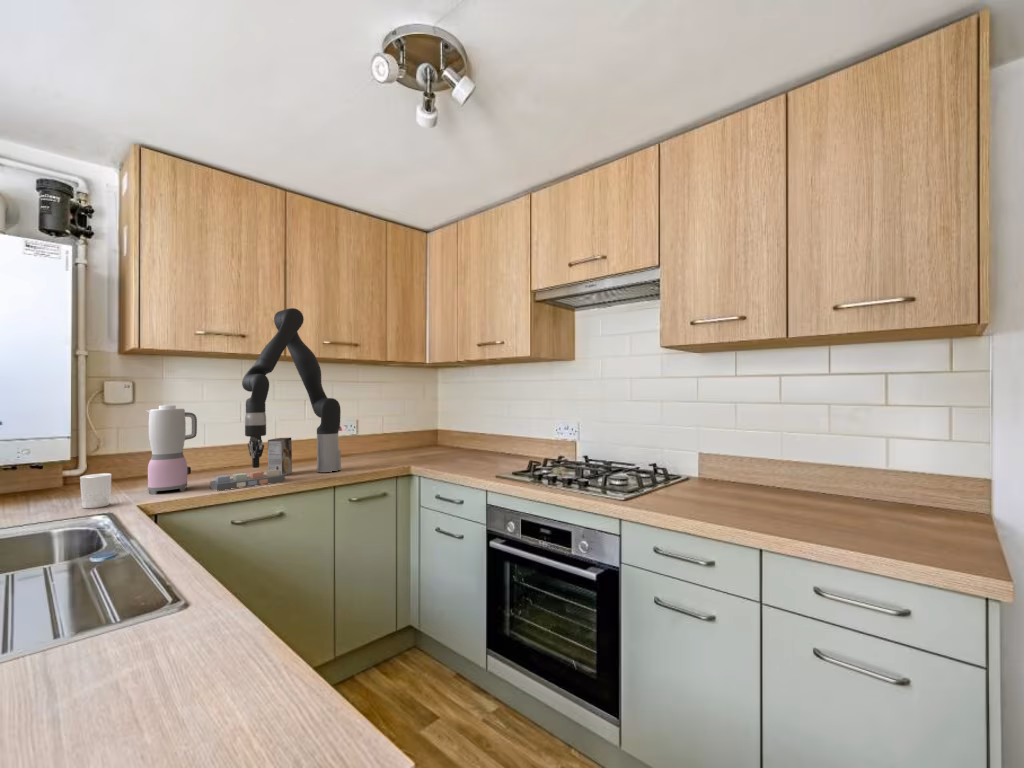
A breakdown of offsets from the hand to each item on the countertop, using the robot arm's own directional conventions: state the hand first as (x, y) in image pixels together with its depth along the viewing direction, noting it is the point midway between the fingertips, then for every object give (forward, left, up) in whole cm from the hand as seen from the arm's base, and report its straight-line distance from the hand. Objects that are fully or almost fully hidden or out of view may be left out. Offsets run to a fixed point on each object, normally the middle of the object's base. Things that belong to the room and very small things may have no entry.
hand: (255, 467), depth 196 cm
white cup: (+49, +2, -7) cm, 49 cm away
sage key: (+6, 0, -5) cm, 8 cm away
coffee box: (-14, -14, -7) cm, 21 cm away
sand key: (-6, 0, -5) cm, 8 cm away
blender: (+26, -10, -7) cm, 29 cm away
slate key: (+12, 0, -5) cm, 13 cm away
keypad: (+3, 0, -6) cm, 7 cm away
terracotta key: (0, 0, -5) cm, 5 cm away
